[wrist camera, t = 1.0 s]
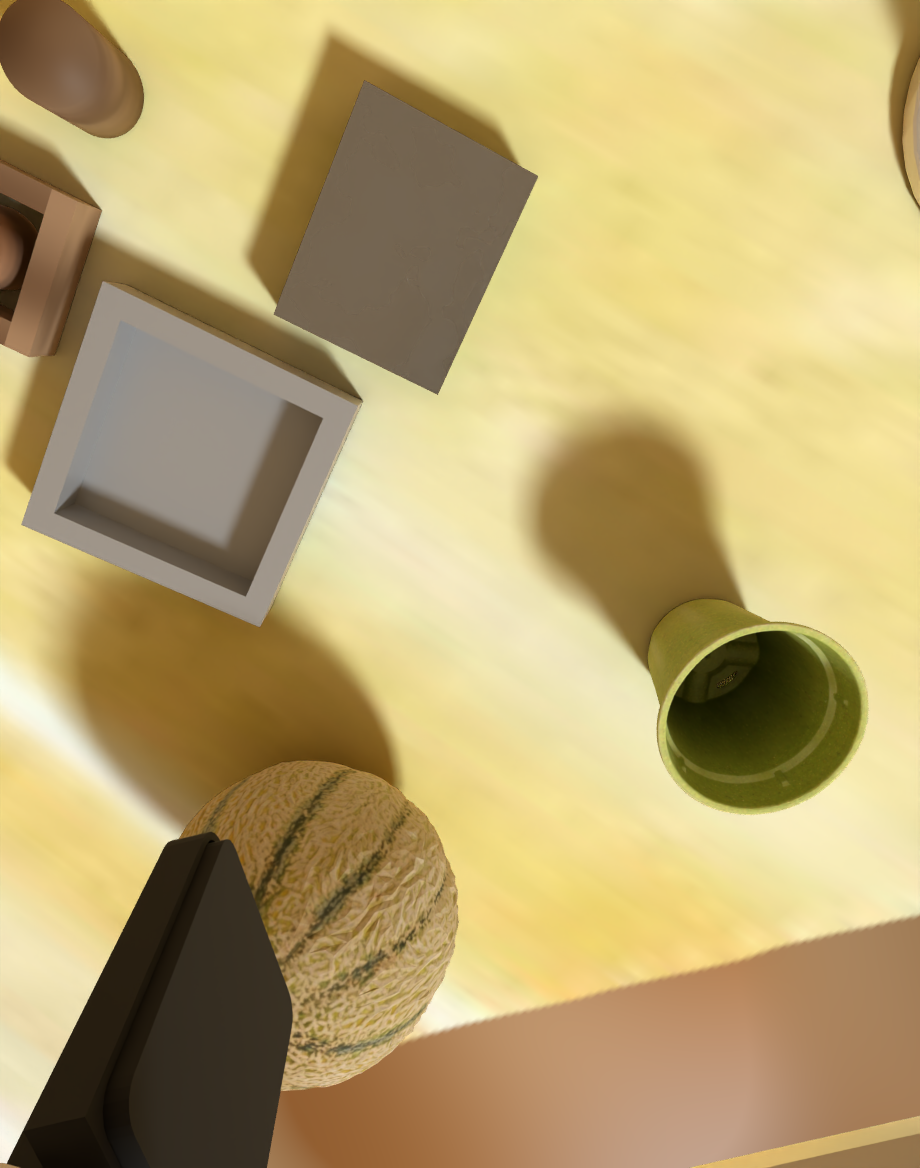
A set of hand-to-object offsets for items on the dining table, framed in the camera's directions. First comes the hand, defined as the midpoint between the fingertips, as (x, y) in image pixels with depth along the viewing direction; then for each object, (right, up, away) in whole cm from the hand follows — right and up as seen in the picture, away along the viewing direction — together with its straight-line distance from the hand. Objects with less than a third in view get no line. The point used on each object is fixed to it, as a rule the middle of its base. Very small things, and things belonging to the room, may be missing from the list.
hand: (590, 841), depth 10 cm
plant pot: (+11, 0, +33) cm, 34 cm away
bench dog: (-17, +25, +23) cm, 38 cm away
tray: (-15, +10, +28) cm, 33 cm away
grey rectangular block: (-4, +19, +26) cm, 33 cm away
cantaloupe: (-10, -11, +35) cm, 38 cm away
